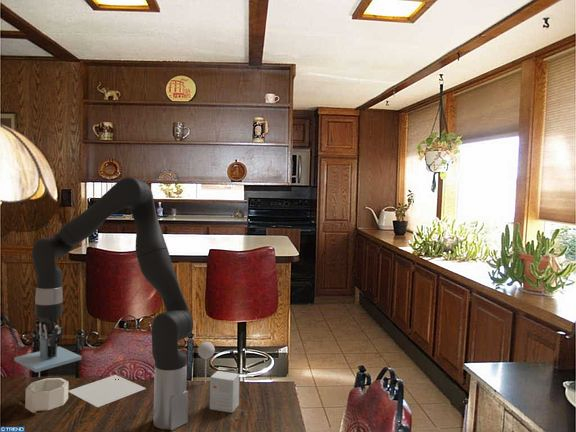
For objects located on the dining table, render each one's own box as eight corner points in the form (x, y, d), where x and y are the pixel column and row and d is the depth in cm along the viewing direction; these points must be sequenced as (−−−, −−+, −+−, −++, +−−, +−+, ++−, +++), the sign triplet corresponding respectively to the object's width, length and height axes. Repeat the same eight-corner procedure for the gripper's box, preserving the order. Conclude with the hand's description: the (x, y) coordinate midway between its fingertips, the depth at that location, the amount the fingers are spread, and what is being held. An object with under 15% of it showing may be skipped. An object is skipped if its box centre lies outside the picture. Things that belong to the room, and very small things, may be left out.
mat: (146, 390, 153) (146, 388, 153) (97, 409, 139) (97, 407, 139) (115, 376, 164) (115, 374, 164) (67, 392, 149) (67, 390, 149)
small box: (239, 405, 145) (240, 373, 144) (232, 413, 139) (233, 380, 139) (216, 401, 147) (217, 370, 146) (208, 409, 141) (209, 376, 141)
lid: (81, 359, 142) (82, 337, 142) (35, 372, 131) (36, 348, 130) (59, 349, 150) (59, 328, 150) (14, 360, 139) (14, 338, 139)
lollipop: (215, 380, 163) (217, 340, 163) (211, 387, 158) (212, 345, 157) (199, 379, 164) (200, 338, 163) (194, 385, 158) (195, 344, 158)
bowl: (73, 402, 142) (73, 384, 142) (37, 415, 133) (37, 396, 133) (55, 393, 149) (56, 375, 148) (20, 404, 140) (20, 386, 139)
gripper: (72, 302, 139) (71, 357, 139) (50, 295, 147) (49, 347, 148) (48, 307, 133) (47, 364, 133) (25, 299, 141) (25, 353, 142)
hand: (48, 355), depth 140 cm, fingers closed on lid, 3 cm apart
